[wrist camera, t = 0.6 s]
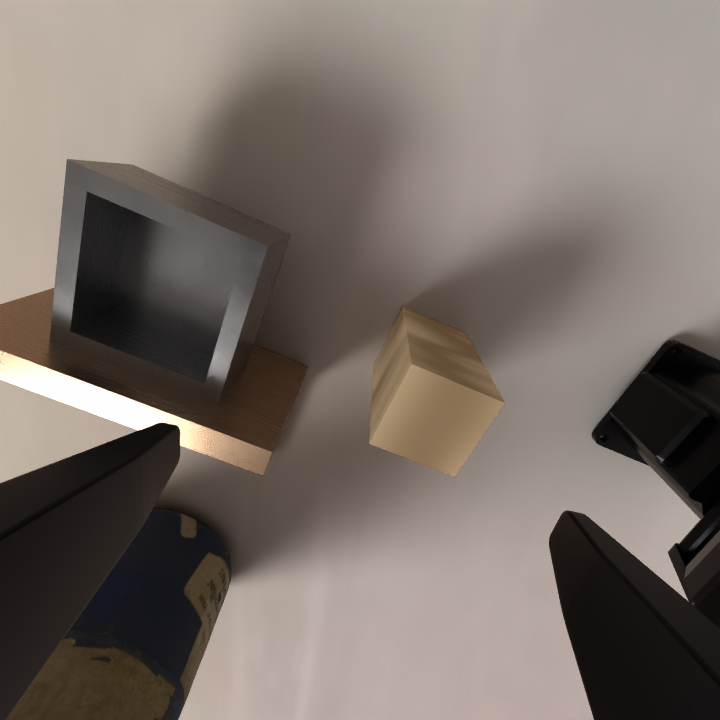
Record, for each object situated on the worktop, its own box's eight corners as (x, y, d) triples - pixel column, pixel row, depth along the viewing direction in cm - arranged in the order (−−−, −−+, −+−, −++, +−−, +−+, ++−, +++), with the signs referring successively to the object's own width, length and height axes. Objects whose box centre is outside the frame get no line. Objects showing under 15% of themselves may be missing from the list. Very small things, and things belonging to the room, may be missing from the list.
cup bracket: (355, 252, 19) (338, 290, 12) (273, 451, 24) (228, 559, 17) (105, 140, 17) (-75, 112, 11) (74, 377, 22) (-62, 461, 16)
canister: (77, 538, 28) (-366, 1048, 11) (157, 471, 25) (-284, 1023, 8) (183, 610, 30) (-53, 1110, 14) (267, 556, 27) (92, 1108, 11)
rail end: (466, 334, 20) (504, 403, 14) (433, 390, 22) (454, 477, 15) (402, 306, 20) (411, 363, 13) (373, 365, 21) (369, 443, 15)
